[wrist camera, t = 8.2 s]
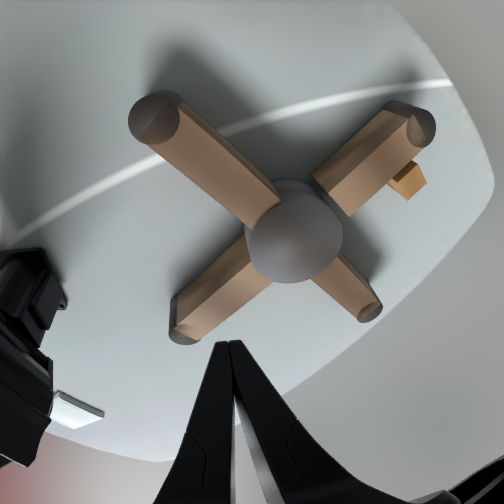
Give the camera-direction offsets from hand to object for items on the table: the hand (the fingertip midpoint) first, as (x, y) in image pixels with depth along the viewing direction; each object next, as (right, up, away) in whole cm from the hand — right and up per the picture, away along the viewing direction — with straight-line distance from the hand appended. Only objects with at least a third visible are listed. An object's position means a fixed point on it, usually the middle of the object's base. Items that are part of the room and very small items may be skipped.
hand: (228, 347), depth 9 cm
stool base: (+2, +5, +12) cm, 13 cm away
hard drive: (-29, -22, +26) cm, 45 cm away
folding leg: (+9, +10, +9) cm, 16 cm away
